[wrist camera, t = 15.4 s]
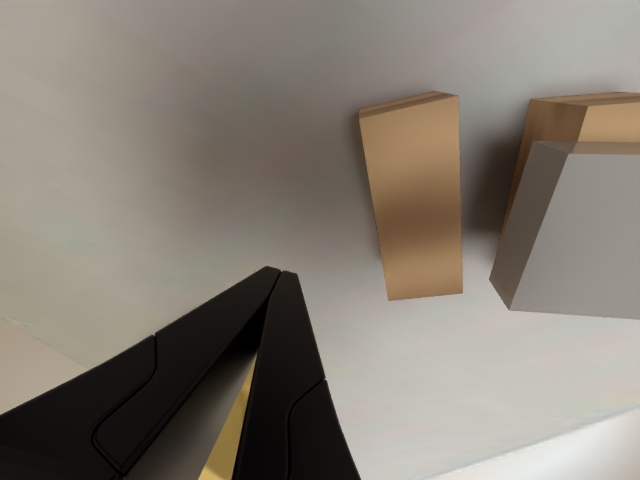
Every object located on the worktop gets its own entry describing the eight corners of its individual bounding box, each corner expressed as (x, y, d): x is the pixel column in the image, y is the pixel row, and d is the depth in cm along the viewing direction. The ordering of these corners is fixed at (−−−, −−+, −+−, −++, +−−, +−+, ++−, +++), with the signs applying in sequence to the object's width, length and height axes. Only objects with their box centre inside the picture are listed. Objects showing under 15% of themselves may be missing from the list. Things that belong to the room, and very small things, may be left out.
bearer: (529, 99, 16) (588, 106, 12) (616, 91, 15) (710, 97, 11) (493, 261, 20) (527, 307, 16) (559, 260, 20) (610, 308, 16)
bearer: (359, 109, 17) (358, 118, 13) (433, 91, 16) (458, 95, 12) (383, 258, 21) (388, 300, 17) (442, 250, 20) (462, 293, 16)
